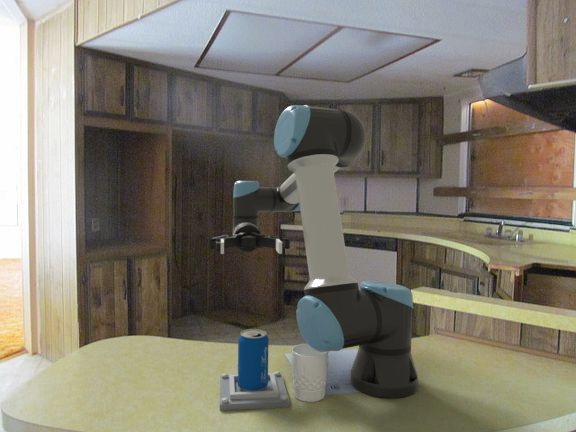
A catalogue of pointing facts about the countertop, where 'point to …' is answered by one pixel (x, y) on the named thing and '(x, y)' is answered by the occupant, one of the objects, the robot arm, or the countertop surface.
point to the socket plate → (252, 394)
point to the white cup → (309, 373)
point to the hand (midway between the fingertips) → (251, 248)
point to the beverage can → (253, 360)
